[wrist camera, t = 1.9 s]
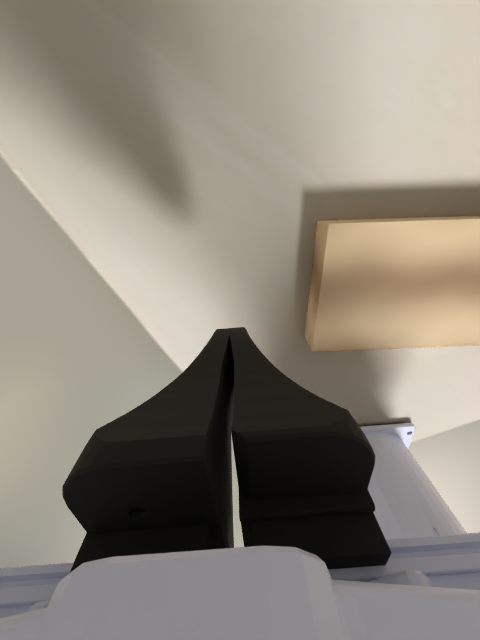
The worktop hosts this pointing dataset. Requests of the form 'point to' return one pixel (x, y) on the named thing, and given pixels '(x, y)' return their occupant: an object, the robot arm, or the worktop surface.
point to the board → (395, 284)
